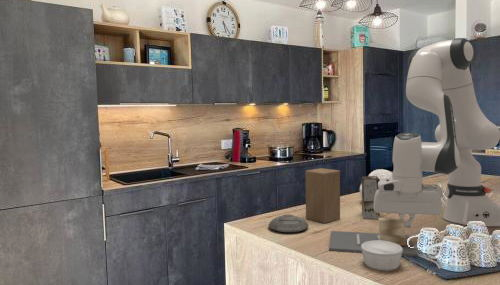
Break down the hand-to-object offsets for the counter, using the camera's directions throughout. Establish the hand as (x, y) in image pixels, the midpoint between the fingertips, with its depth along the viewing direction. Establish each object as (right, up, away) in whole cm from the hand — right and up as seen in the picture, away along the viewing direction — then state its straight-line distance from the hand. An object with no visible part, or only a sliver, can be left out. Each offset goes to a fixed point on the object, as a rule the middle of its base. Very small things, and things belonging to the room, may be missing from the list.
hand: (406, 226), depth 122 cm
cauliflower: (+12, -2, +58) cm, 60 cm away
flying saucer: (-36, -6, +22) cm, 42 cm away
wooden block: (-20, -4, +34) cm, 40 cm away
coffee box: (0, -4, +37) cm, 37 cm away
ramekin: (-13, -8, -14) cm, 20 cm away
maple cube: (-4, -5, +2) cm, 7 cm away
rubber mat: (-11, -6, +3) cm, 13 cm away
